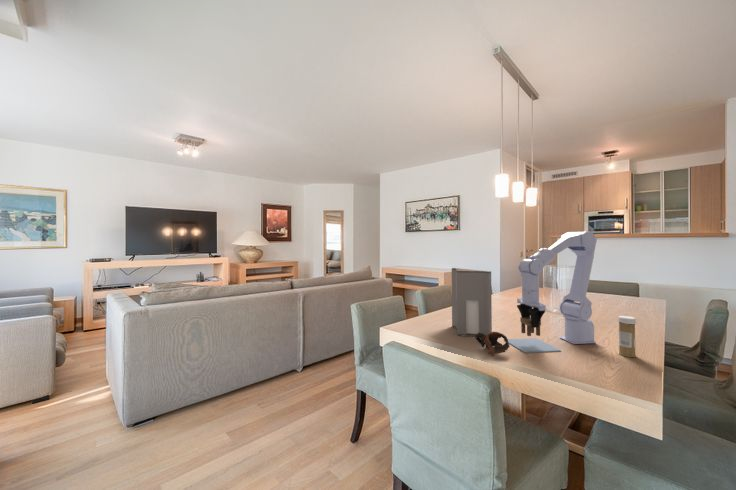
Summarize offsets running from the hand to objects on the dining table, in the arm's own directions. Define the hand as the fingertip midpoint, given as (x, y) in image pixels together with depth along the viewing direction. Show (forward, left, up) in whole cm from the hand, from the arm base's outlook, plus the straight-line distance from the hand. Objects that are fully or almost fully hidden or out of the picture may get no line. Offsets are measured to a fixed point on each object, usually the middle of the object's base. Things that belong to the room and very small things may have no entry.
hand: (530, 325), depth 115 cm
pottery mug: (+18, +4, -8) cm, 20 cm away
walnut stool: (0, 0, -3) cm, 3 cm away
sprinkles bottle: (-27, +13, -8) cm, 31 cm away
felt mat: (0, 0, -8) cm, 8 cm away
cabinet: (+19, -18, -8) cm, 27 cm away
